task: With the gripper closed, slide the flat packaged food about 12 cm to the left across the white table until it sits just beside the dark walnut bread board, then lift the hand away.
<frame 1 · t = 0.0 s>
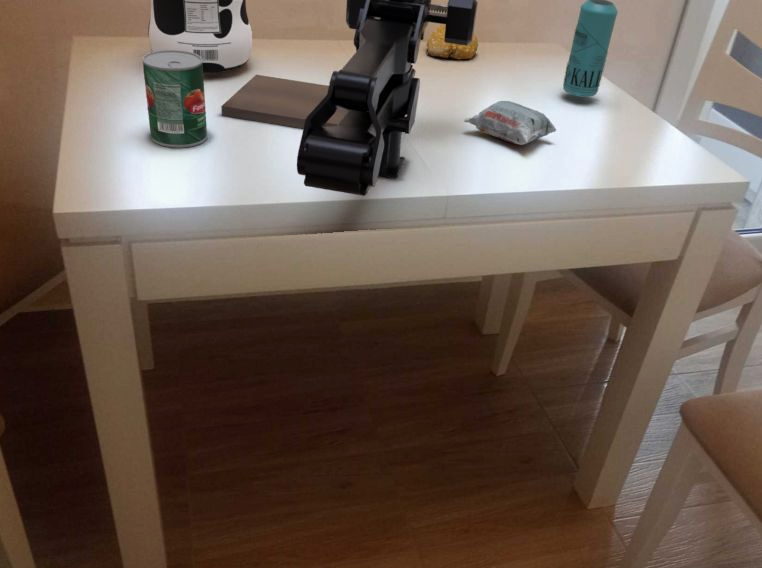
hand: (420, 0, 119), 17 cm above the table, tool horizontal, fingers open, 9 cm apart
bread board: (305, 109, 123), on the table
milk container: (203, 65, 136), on the table
canned tomato: (179, 138, 111), on the table
beverage bottle: (577, 100, 139), on the table
packaged food: (507, 139, 121), on the table
bagel: (450, 54, 154), on the table
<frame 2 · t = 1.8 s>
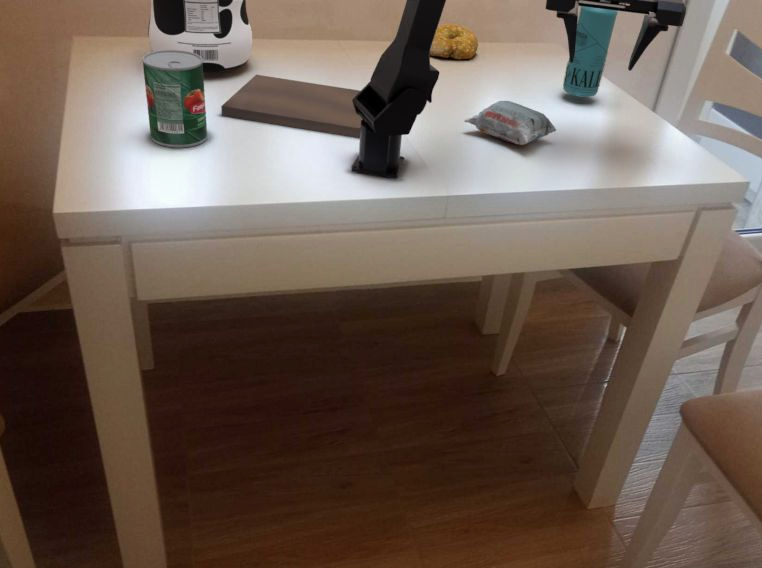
hand: (600, 65, 113), 13 cm above the table, tool pointing down, fingers open, 8 cm apart
nothing on the table moved.
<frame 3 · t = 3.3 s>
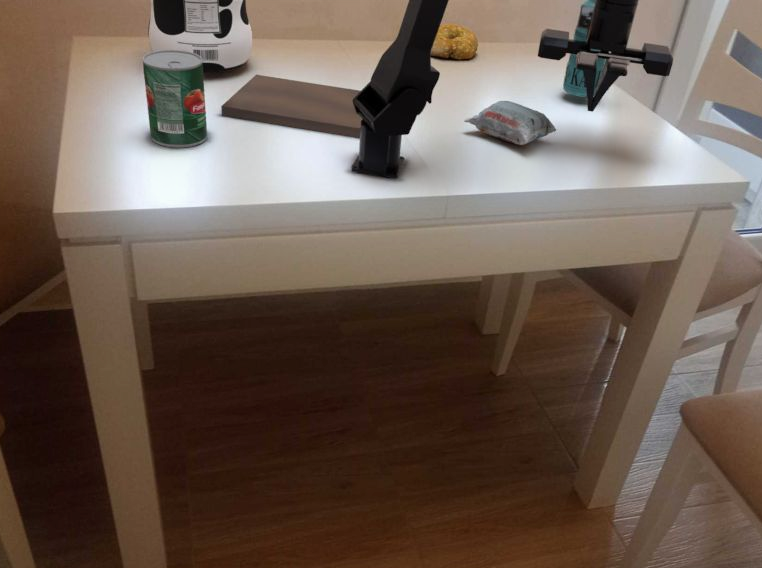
hand: (590, 110, 116), 6 cm above the table, tool pointing down, fingers closed
nothing on the table moved.
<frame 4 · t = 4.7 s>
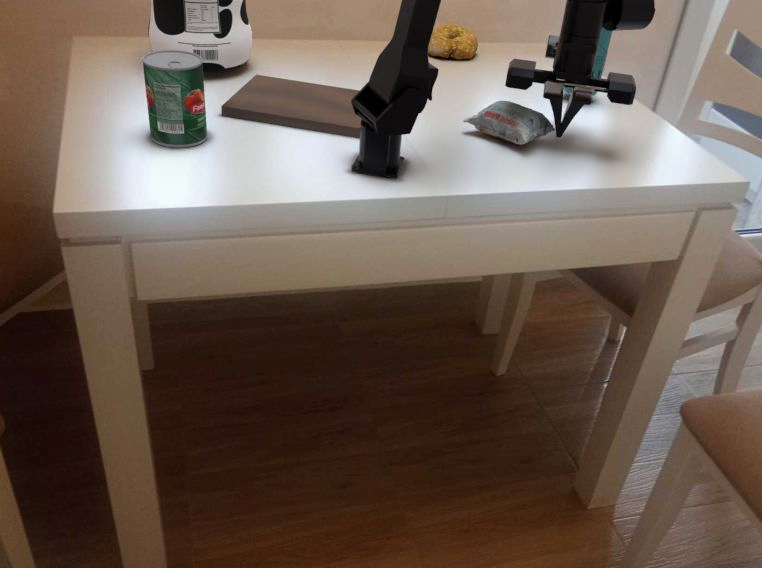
hand: (558, 136, 120), 2 cm above the table, tool pointing down, fingers closed
packaged food: (506, 139, 121), on the table, touching gripper
everything else where it was.
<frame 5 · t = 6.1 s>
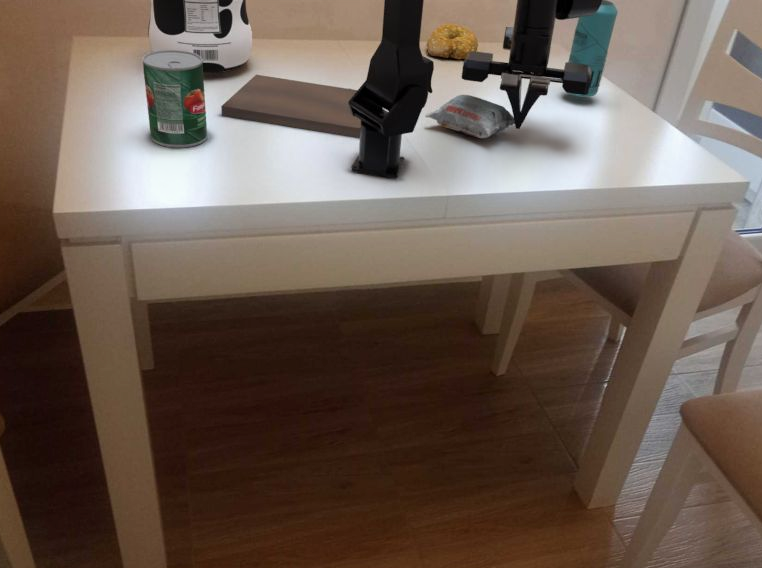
hand: (517, 128, 120), 2 cm above the table, tool pointing down, fingers closed
packaged food: (468, 133, 122), on the table, touching gripper
everything else where it was.
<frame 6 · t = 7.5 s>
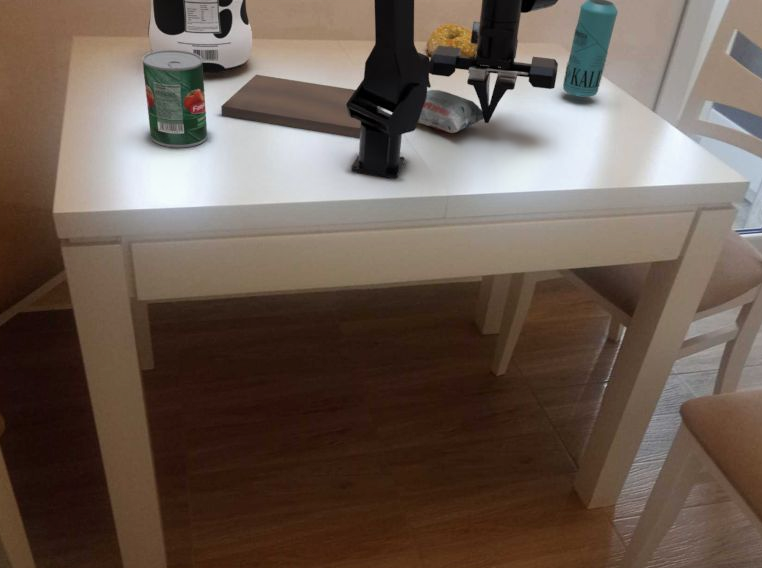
hand: (486, 122, 121), 2 cm above the table, tool pointing down, fingers closed
packaged food: (439, 128, 123), on the table, touching gripper
everything else where it was.
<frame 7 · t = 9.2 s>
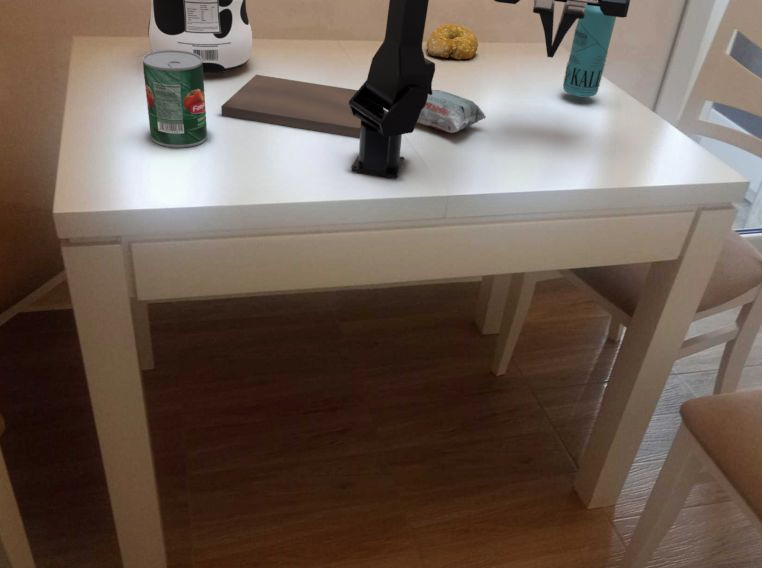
hand: (550, 56, 115), 13 cm above the table, tool pointing down, fingers closed
packaged food: (438, 128, 123), on the table
everything else where it was.
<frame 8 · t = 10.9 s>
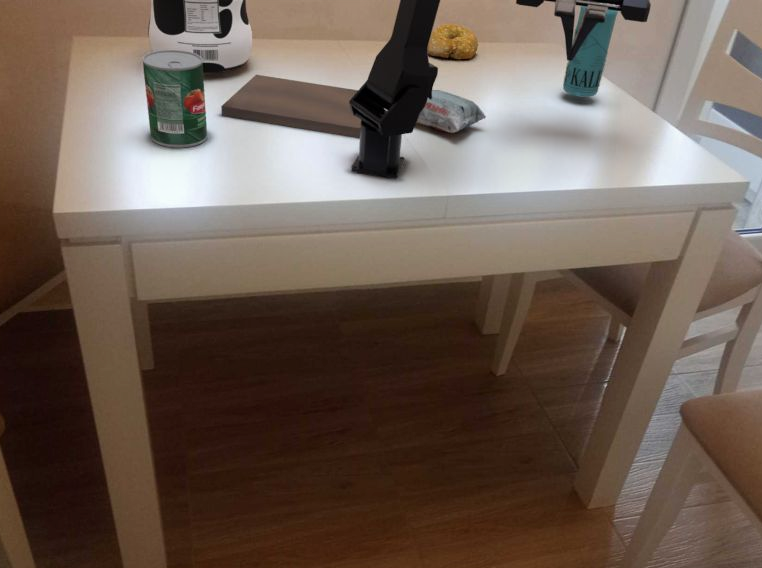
hand: (569, 60, 116), 12 cm above the table, tool pointing down, fingers closed
nothing on the table moved.
at the end: packaged food inside the target area (1.3 cm from its centre), on the table; packaged food tilted 0° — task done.
